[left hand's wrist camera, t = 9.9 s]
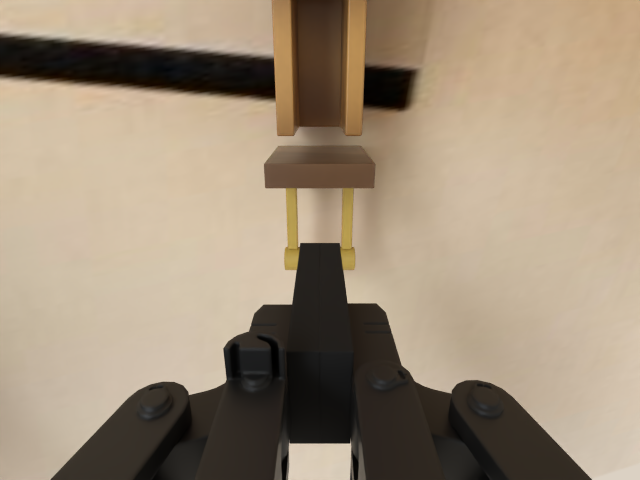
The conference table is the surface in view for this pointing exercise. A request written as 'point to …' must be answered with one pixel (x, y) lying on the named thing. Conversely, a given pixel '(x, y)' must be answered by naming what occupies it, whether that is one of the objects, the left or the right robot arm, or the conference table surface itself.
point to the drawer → (319, 106)
